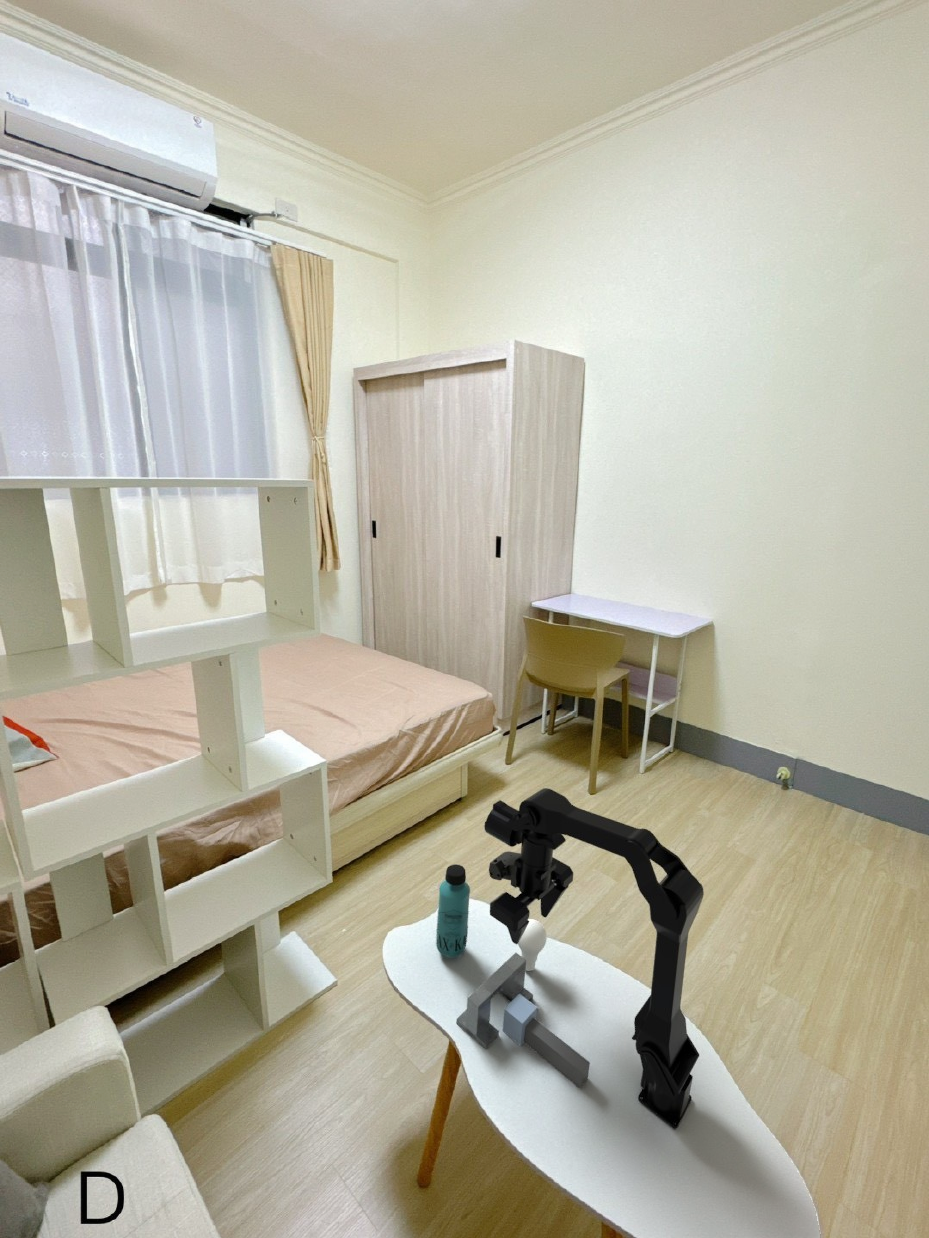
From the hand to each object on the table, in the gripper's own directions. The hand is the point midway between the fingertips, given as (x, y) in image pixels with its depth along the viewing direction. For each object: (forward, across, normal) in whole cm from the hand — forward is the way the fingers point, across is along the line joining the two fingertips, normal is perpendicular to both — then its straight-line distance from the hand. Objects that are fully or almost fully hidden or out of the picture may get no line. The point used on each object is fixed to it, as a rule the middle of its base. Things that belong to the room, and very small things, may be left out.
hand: (529, 928), depth 108 cm
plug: (+15, +7, +9) cm, 19 cm away
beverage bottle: (+15, +3, -17) cm, 23 cm away
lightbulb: (+15, -5, -3) cm, 16 cm away
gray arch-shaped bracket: (+15, +7, -1) cm, 16 cm away
